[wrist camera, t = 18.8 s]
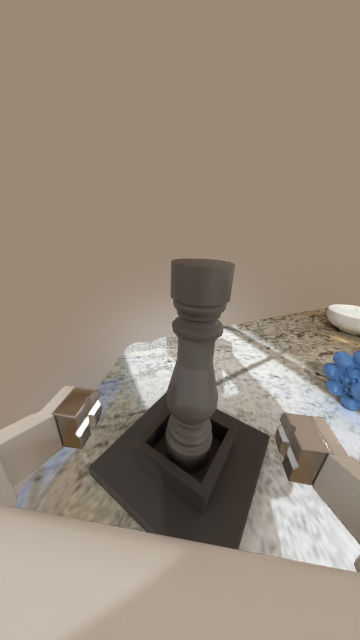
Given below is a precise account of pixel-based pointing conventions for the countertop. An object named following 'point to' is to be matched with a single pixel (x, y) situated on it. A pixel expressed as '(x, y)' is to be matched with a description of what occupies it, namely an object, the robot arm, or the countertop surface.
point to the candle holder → (195, 357)
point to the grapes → (345, 379)
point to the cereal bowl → (345, 318)
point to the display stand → (184, 479)
